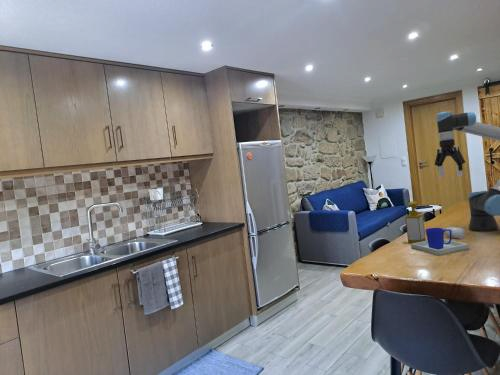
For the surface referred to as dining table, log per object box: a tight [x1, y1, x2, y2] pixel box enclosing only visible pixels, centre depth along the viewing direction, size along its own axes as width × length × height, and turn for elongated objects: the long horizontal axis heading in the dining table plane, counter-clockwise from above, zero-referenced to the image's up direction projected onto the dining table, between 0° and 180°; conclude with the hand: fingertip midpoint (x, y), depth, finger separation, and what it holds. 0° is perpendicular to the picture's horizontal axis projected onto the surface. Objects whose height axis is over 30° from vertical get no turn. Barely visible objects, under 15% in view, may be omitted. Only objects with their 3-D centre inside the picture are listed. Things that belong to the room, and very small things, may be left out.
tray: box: [410, 238, 470, 256], centre depth 188 cm, size 18×20×3 cm
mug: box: [425, 227, 452, 249], centre depth 187 cm, size 8×12×10 cm
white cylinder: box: [444, 226, 466, 240], centre depth 207 cm, size 6×6×8 cm
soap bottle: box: [404, 201, 427, 245], centre depth 209 cm, size 7×13×24 cm, turn 137°
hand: (450, 177), depth 206 cm, fingers open, 13 cm apart
